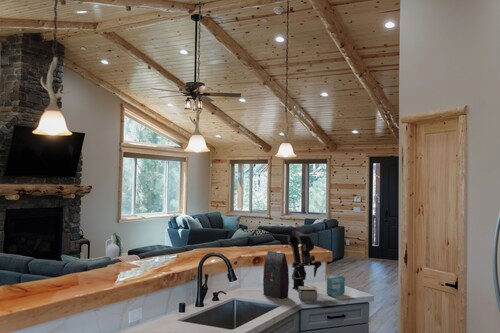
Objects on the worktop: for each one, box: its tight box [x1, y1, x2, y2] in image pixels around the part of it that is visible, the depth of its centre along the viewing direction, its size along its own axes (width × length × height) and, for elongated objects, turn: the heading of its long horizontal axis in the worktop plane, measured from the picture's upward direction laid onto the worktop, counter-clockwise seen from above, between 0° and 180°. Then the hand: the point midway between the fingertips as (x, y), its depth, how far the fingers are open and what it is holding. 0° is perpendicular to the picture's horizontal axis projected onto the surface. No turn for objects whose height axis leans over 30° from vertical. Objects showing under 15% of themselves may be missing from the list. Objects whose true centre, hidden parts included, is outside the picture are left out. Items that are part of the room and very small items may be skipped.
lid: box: [298, 285, 318, 291], centre depth 280 cm, size 8×10×1 cm
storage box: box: [298, 289, 318, 302], centre depth 280 cm, size 8×10×6 cm
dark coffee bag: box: [262, 250, 290, 300], centre depth 289 cm, size 8×16×28 cm, turn 41°
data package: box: [326, 274, 346, 297], centre depth 294 cm, size 12×4×12 cm, turn 124°
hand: (307, 277), depth 290 cm, fingers open, 9 cm apart
